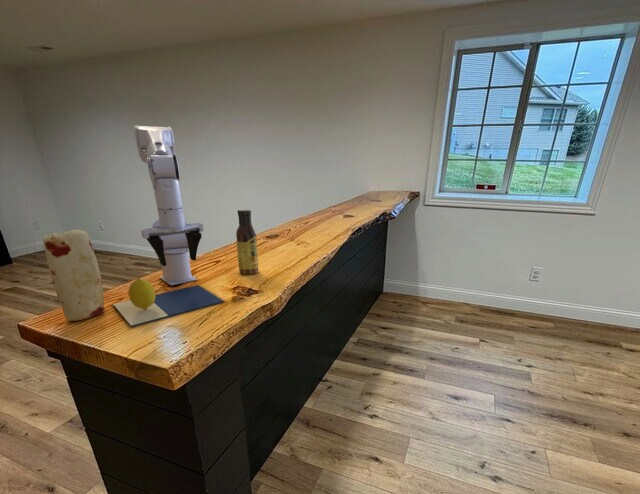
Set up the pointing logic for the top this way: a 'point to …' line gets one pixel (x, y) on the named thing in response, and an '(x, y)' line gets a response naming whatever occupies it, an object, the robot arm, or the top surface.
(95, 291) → the food model
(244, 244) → the sauce bottle
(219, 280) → the top surface
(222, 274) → the top surface
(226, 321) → the top surface
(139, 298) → the lemon
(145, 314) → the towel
